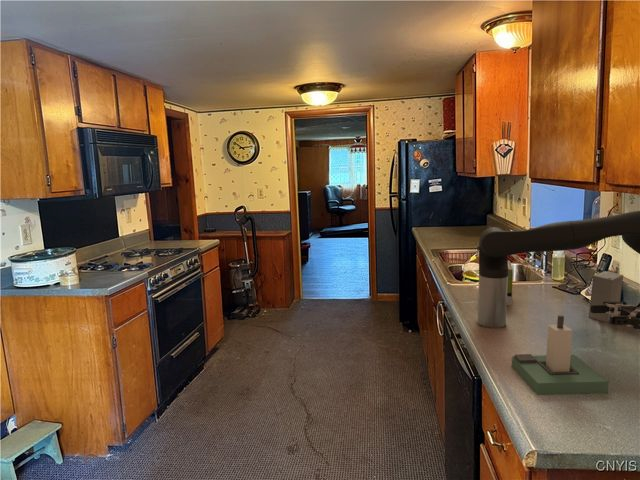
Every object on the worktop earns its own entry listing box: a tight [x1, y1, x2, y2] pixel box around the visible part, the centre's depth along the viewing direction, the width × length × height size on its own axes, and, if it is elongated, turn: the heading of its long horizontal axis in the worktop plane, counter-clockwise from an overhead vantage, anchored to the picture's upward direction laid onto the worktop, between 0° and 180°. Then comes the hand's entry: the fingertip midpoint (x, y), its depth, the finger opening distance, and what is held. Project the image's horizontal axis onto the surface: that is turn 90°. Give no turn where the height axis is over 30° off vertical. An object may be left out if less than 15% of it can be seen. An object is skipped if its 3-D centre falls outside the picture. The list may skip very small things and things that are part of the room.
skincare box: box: [588, 270, 624, 323], centre depth 155 cm, size 8×7×16 cm
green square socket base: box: [511, 353, 610, 396], centre depth 116 cm, size 15×17×4 cm
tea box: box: [507, 260, 514, 306], centre depth 180 cm, size 15×10×15 cm
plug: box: [546, 314, 573, 372], centre depth 114 cm, size 4×4×17 cm
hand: (600, 314), depth 117 cm, fingers open, 8 cm apart
